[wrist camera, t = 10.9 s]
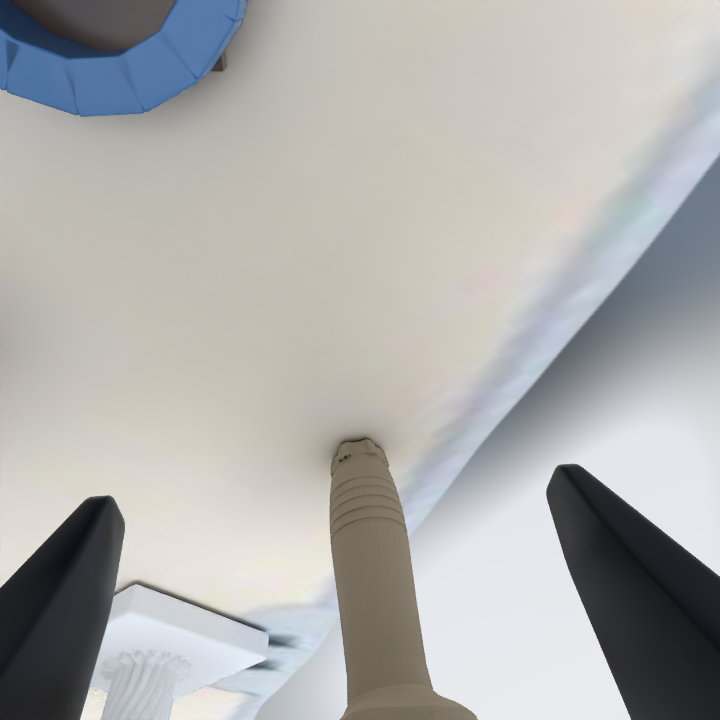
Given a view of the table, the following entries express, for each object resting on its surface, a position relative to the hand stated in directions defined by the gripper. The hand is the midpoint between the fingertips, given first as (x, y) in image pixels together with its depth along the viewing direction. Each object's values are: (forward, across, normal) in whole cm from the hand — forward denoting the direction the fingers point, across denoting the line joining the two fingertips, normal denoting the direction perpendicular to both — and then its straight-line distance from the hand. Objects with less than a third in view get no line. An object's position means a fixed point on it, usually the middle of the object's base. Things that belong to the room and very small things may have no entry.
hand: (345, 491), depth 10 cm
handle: (+13, -2, +14) cm, 19 cm away
